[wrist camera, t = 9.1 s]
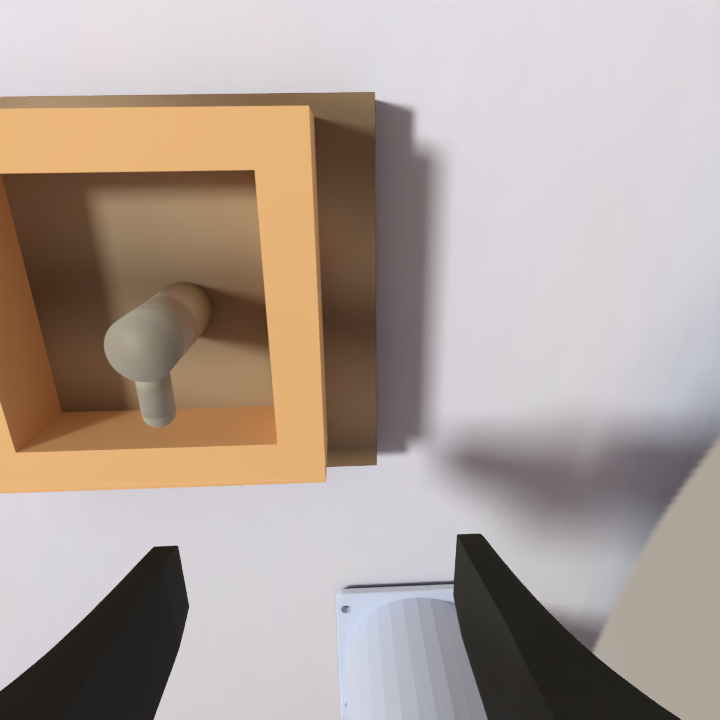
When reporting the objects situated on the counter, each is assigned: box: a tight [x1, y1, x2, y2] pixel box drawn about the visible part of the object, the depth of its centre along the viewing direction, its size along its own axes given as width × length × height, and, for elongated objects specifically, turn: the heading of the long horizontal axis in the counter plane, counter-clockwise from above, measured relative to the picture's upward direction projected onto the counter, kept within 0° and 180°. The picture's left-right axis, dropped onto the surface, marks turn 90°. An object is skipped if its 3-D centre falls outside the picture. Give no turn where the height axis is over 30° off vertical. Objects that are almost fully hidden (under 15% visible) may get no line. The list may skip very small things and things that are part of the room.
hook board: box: [0, 92, 377, 467], centre depth 17 cm, size 14×14×6 cm
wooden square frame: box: [0, 105, 328, 493], centre depth 17 cm, size 12×12×3 cm
